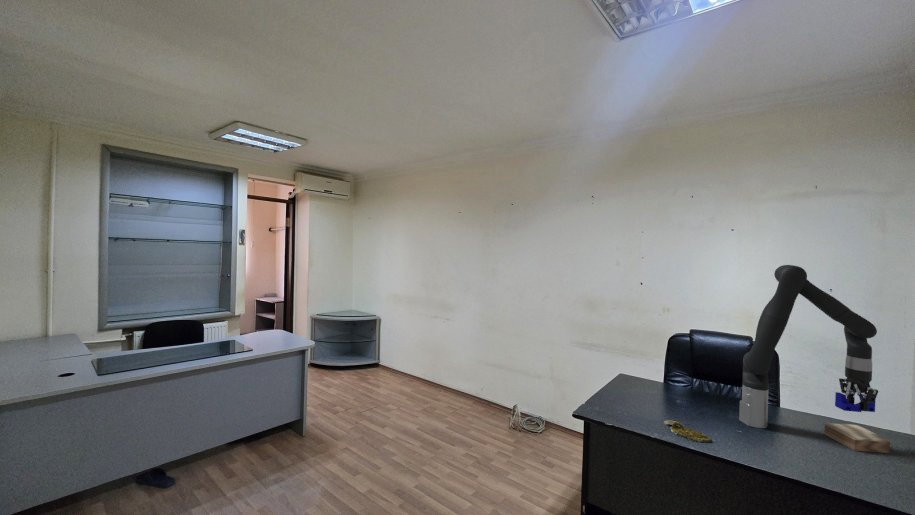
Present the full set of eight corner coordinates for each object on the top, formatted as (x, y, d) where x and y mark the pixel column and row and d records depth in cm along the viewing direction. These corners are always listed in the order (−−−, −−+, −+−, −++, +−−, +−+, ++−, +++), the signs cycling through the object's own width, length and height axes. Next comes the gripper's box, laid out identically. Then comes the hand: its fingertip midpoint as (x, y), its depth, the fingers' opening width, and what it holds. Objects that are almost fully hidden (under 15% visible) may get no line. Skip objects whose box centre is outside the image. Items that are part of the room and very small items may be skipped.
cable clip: (844, 410, 149) (845, 396, 149) (835, 406, 153) (835, 392, 153) (878, 413, 147) (879, 399, 147) (867, 409, 151) (868, 394, 151)
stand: (854, 450, 145) (854, 438, 144) (824, 434, 157) (824, 423, 157) (889, 452, 143) (890, 440, 143) (856, 436, 156) (857, 424, 156)
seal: (712, 440, 153) (671, 428, 162) (712, 429, 153) (672, 418, 162) (710, 447, 145) (668, 434, 155) (711, 435, 146) (669, 423, 155)
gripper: (887, 373, 142) (885, 416, 143) (851, 362, 157) (849, 401, 157) (866, 372, 143) (864, 415, 143) (832, 361, 157) (830, 400, 158)
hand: (856, 407), depth 150 cm, fingers closed on cable clip, 4 cm apart
